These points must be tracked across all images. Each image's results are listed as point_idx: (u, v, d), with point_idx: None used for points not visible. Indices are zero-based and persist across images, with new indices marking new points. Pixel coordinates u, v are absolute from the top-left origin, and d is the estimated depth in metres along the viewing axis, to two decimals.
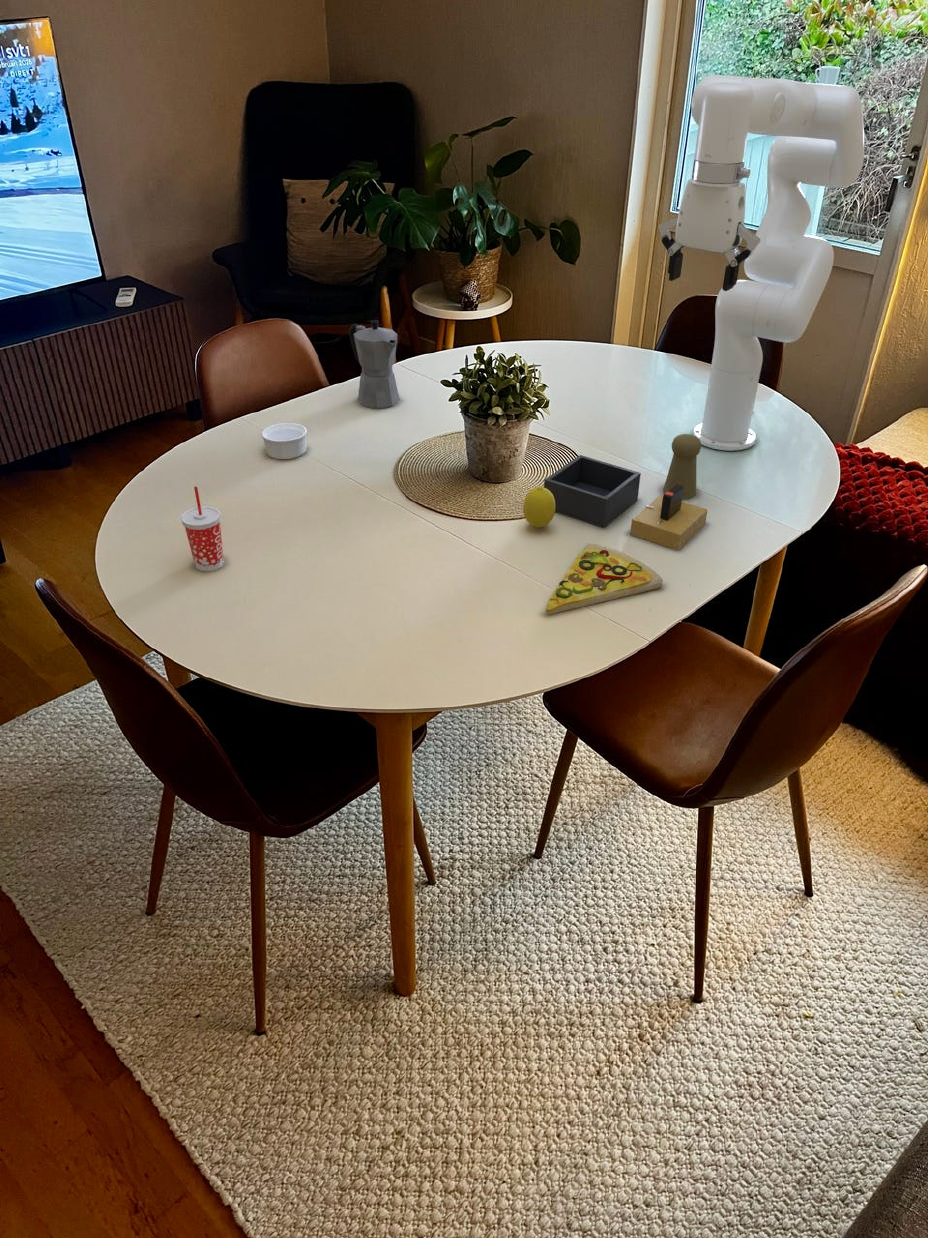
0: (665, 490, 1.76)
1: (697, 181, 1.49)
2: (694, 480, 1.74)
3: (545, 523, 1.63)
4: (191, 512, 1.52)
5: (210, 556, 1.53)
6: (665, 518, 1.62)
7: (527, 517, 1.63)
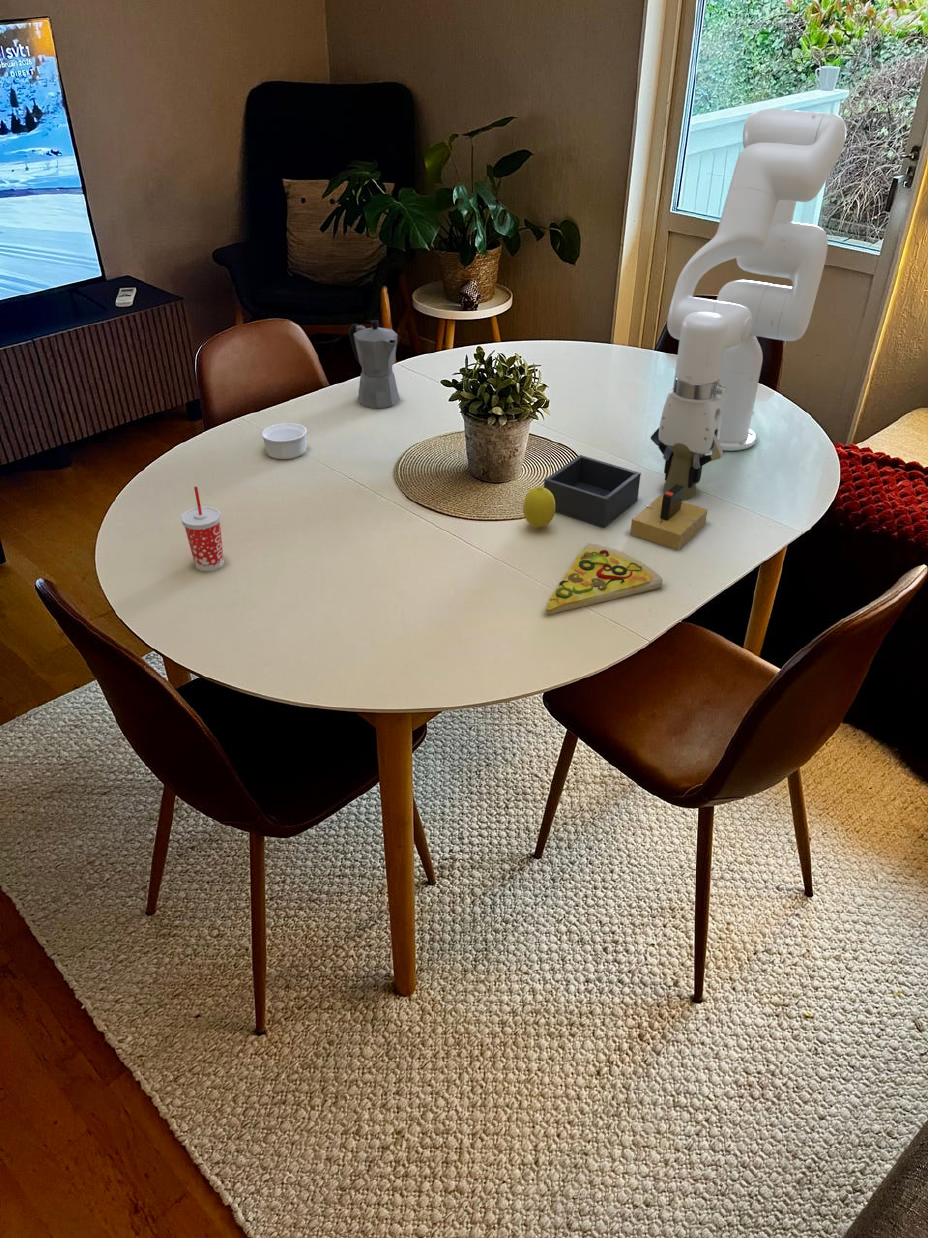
0: (665, 490, 1.76)
1: (677, 395, 1.64)
2: None
3: (545, 523, 1.63)
4: (191, 512, 1.52)
5: (210, 556, 1.53)
6: (665, 518, 1.62)
7: (527, 517, 1.63)
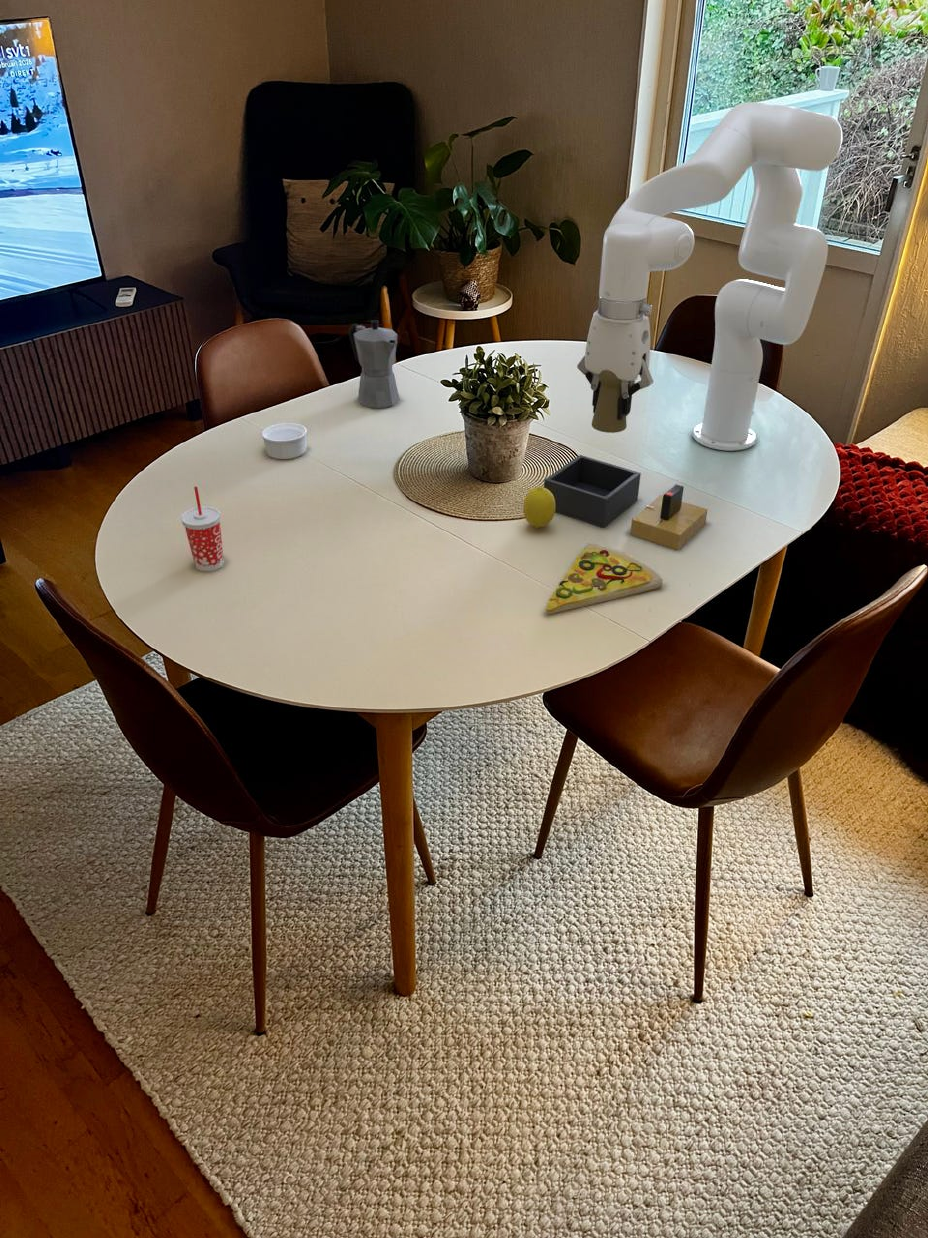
0: (593, 423, 1.64)
1: (601, 316, 1.52)
2: None
3: (545, 523, 1.63)
4: (191, 512, 1.52)
5: (210, 556, 1.53)
6: (665, 518, 1.62)
7: (527, 517, 1.63)
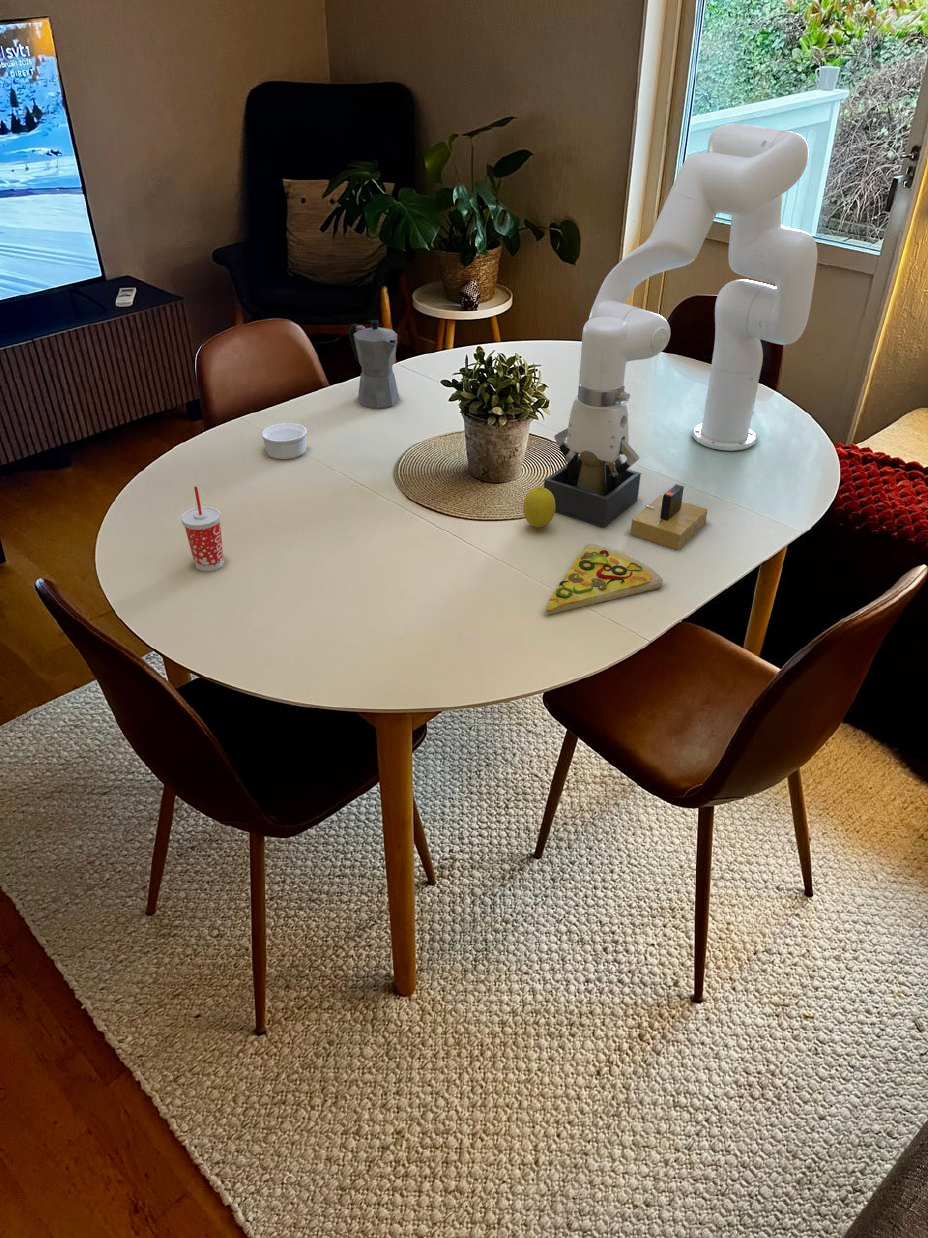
0: None
1: (581, 402, 1.60)
2: (604, 489, 1.70)
3: (545, 523, 1.63)
4: (191, 512, 1.52)
5: (210, 556, 1.53)
6: (665, 518, 1.62)
7: (527, 517, 1.63)
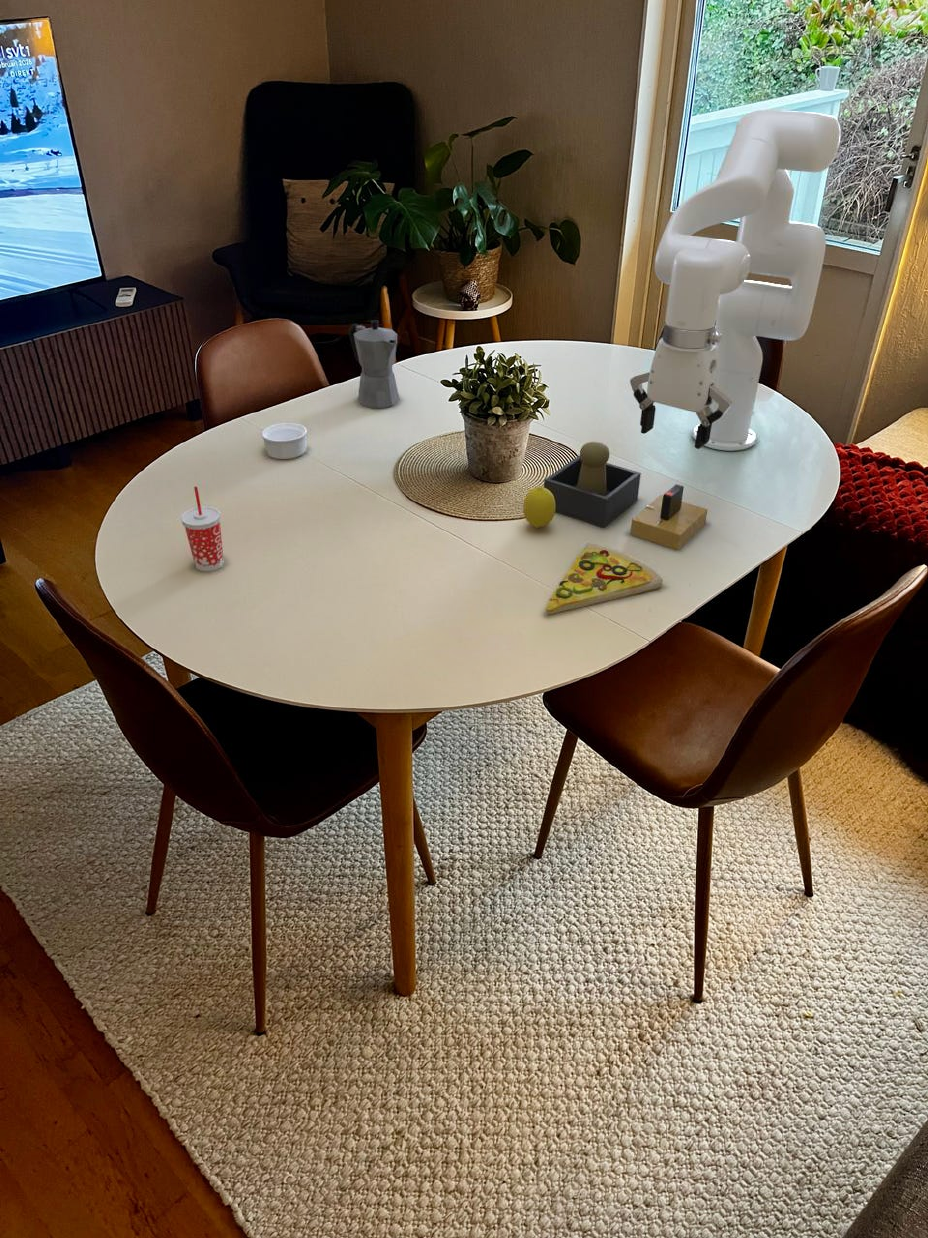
0: None
1: (668, 344, 1.46)
2: (604, 489, 1.70)
3: (545, 523, 1.63)
4: (191, 512, 1.52)
5: (210, 556, 1.53)
6: (665, 518, 1.62)
7: (527, 517, 1.63)
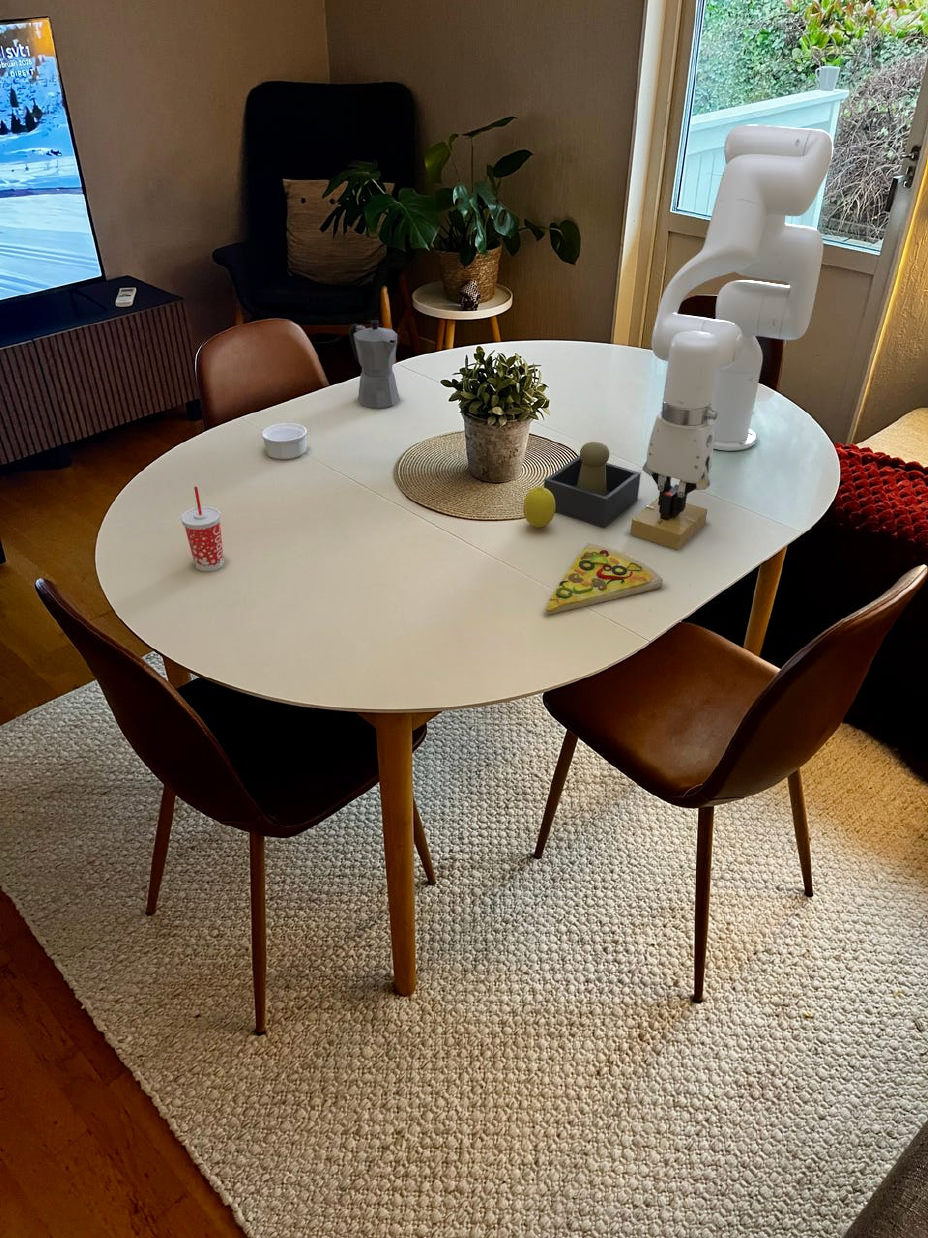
0: None
1: (666, 421, 1.52)
2: (604, 489, 1.70)
3: (545, 523, 1.63)
4: (191, 512, 1.52)
5: (210, 556, 1.53)
6: (665, 518, 1.62)
7: (527, 517, 1.63)
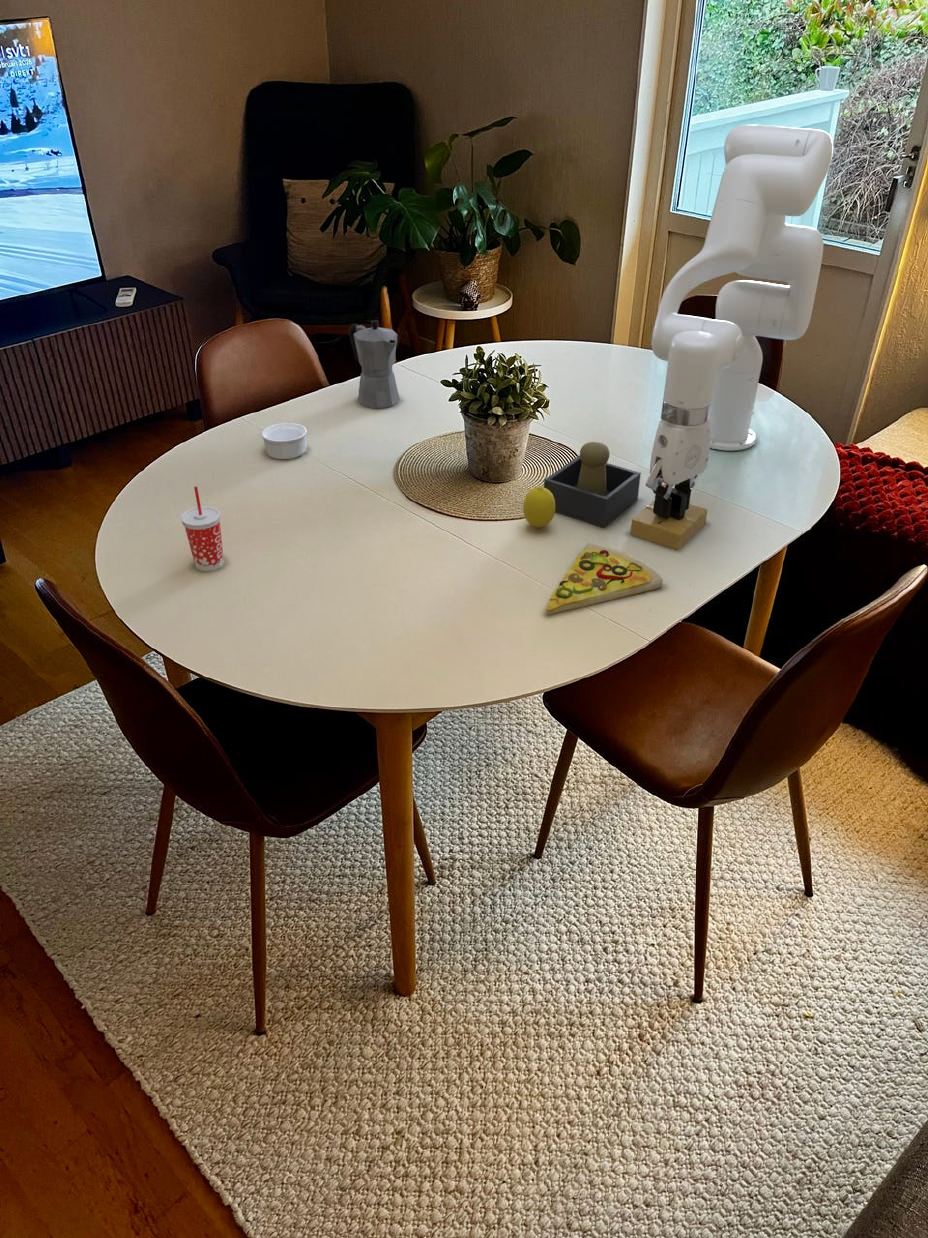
0: None
1: None
2: (604, 489, 1.70)
3: (545, 523, 1.63)
4: (191, 512, 1.52)
5: (210, 556, 1.53)
6: None
7: (527, 517, 1.63)
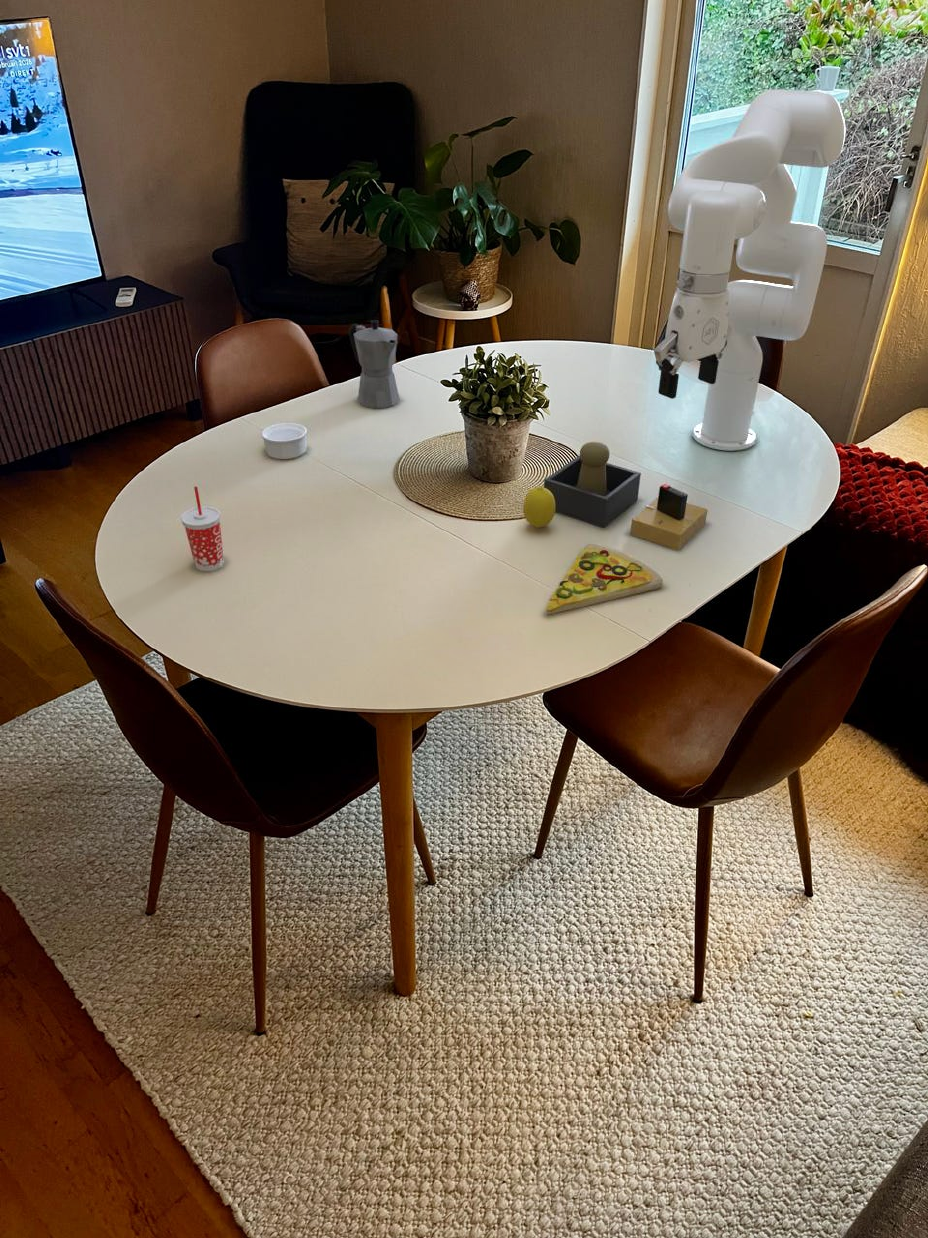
0: None
1: None
2: (604, 489, 1.70)
3: (545, 523, 1.63)
4: (191, 512, 1.52)
5: (210, 556, 1.53)
6: None
7: (527, 517, 1.63)
